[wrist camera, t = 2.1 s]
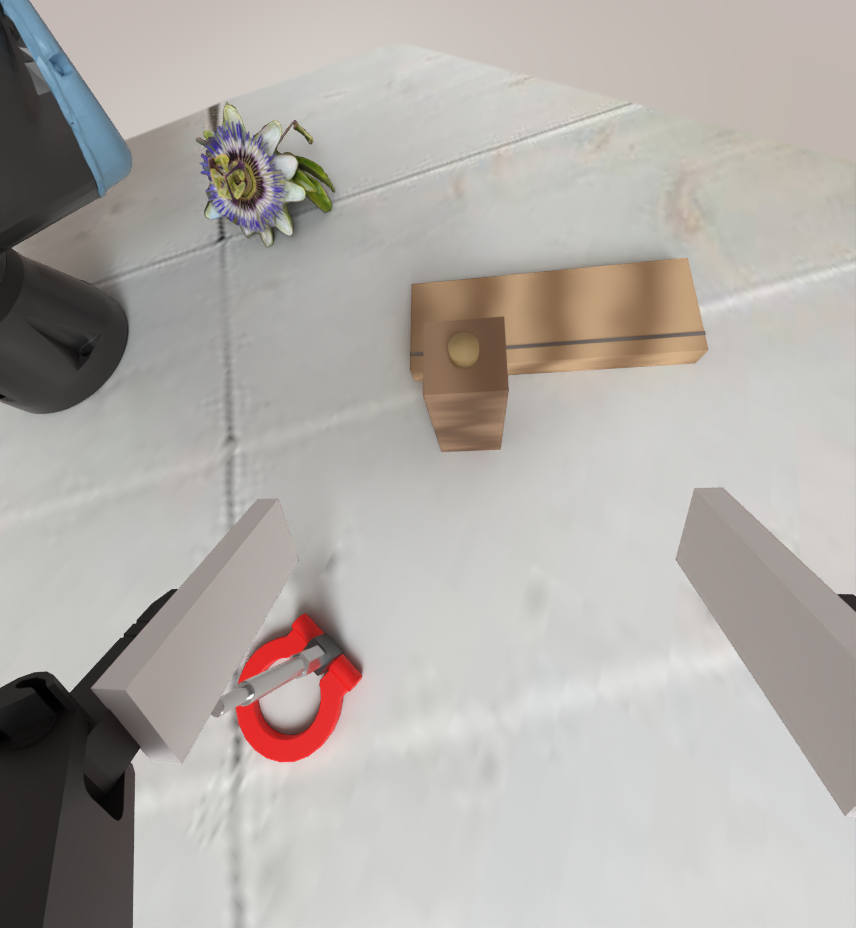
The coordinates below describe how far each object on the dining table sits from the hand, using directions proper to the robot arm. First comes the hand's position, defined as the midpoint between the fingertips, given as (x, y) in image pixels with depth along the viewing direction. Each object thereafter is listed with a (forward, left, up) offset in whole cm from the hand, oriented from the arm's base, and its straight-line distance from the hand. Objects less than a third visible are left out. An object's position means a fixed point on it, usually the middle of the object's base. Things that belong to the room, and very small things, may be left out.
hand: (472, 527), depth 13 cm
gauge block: (-10, +5, -19) cm, 22 cm away
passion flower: (-43, -2, -19) cm, 47 cm away
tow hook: (+3, -17, -19) cm, 26 cm away
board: (-15, +15, -19) cm, 28 cm away
